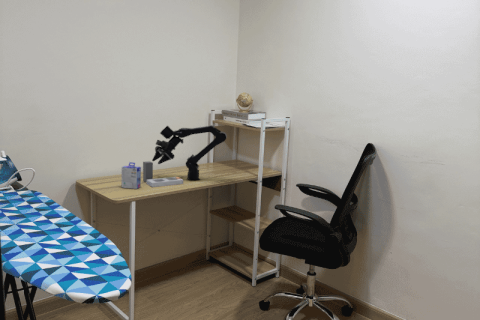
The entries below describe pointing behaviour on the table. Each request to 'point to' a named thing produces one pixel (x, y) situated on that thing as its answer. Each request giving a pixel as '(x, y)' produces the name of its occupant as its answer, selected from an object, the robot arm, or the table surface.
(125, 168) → the ink cartridge box
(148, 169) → the block
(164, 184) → the power strip
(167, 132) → the robot arm
